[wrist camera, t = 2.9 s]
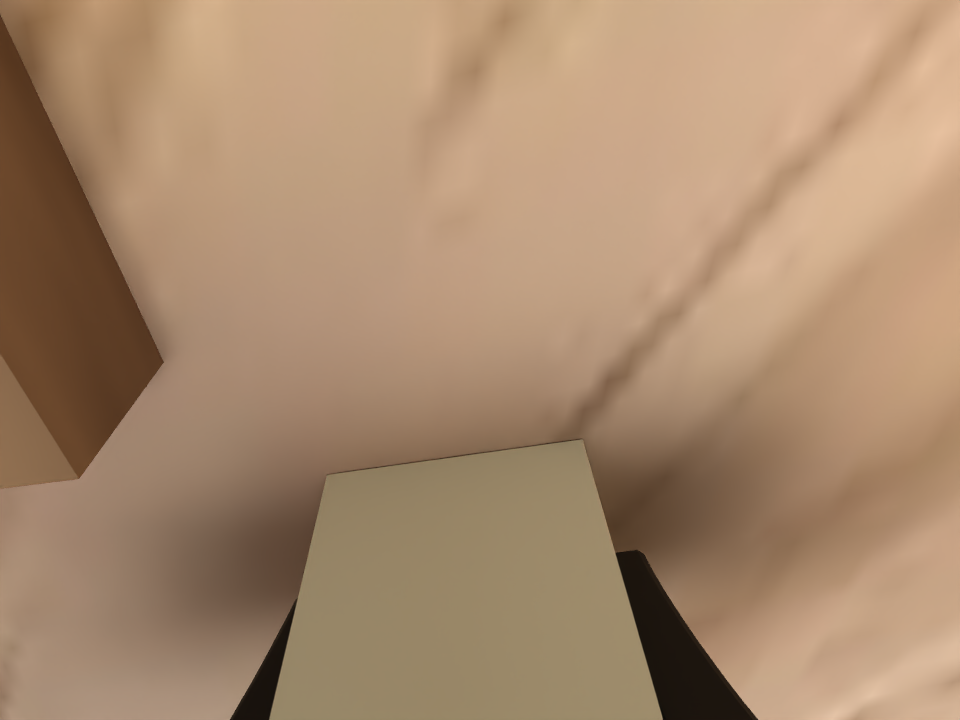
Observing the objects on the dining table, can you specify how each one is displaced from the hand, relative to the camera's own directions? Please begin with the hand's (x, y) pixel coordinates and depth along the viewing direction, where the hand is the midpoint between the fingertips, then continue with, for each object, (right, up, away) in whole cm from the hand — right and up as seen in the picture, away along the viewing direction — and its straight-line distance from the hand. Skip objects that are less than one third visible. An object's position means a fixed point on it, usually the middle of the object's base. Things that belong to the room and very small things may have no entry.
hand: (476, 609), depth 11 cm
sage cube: (0, +1, +1) cm, 1 cm away
